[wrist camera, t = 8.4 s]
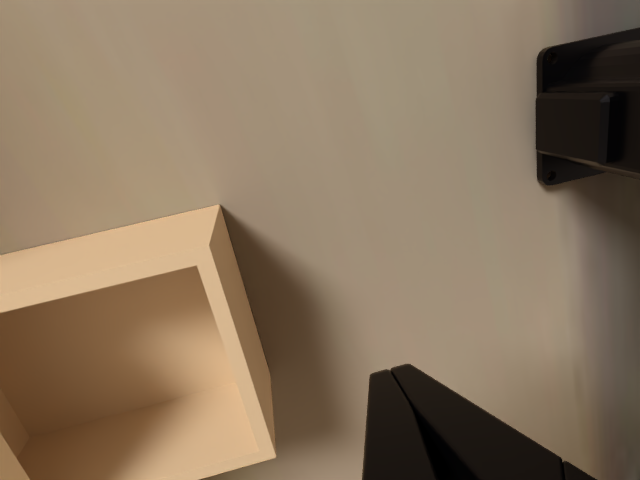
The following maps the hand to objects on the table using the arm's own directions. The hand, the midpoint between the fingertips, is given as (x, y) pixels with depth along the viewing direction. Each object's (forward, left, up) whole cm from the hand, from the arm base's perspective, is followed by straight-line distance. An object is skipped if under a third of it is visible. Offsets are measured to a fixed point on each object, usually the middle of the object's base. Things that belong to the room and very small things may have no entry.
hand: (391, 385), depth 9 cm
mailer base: (+11, +3, -12) cm, 17 cm away
